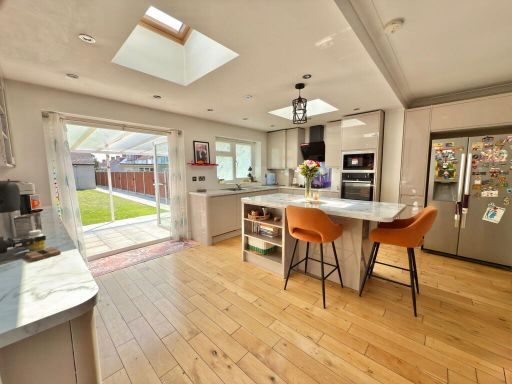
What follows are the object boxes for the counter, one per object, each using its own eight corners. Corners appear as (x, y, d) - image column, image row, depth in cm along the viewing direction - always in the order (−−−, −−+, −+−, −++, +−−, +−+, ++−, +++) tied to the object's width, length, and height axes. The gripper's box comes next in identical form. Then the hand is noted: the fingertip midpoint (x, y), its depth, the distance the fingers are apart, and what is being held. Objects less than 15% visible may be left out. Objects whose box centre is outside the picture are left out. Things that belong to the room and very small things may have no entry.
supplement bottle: (30, 250, 100) (28, 230, 99) (46, 247, 103) (43, 228, 102) (28, 253, 96) (25, 233, 95) (44, 250, 99) (42, 231, 98)
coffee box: (28, 244, 109) (24, 214, 108) (44, 242, 112) (40, 213, 110) (17, 249, 101) (12, 217, 99) (35, 247, 104) (30, 216, 102)
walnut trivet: (25, 256, 92) (24, 253, 91) (52, 250, 99) (51, 247, 99) (33, 261, 86) (32, 258, 86) (60, 254, 94) (60, 250, 93)
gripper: (-10, 241, 83) (47, 231, 97) (-17, 237, 90) (37, 227, 104) (-8, 259, 83) (49, 246, 98) (-15, 253, 91) (39, 241, 105)
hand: (43, 236), depth 101 cm, fingers open, 6 cm apart
